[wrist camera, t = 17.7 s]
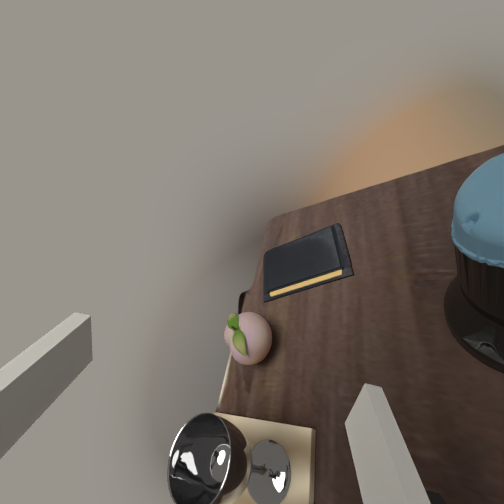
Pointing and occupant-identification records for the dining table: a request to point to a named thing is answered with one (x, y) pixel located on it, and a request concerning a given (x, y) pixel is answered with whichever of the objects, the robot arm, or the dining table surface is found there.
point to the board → (296, 447)
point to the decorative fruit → (248, 337)
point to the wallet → (306, 263)
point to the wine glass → (224, 465)
